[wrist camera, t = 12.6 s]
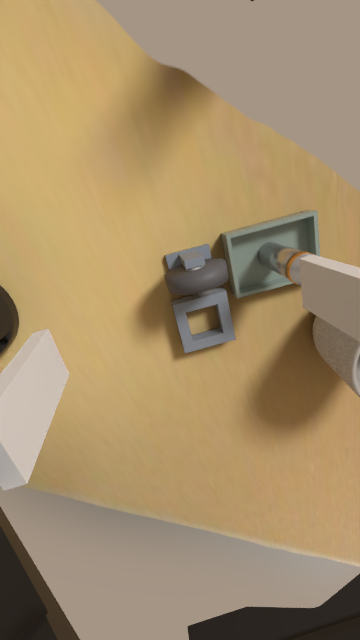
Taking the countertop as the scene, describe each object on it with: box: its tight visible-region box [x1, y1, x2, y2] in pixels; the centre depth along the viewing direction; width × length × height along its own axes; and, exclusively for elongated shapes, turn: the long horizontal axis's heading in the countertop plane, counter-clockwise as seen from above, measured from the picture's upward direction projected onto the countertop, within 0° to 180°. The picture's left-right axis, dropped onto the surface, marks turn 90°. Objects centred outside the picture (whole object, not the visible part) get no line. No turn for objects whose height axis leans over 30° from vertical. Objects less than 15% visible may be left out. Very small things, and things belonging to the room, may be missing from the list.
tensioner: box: [165, 244, 236, 353], centre depth 45 cm, size 9×17×10 cm, turn 14°
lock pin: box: [257, 242, 315, 285], centre depth 42 cm, size 4×4×12 cm
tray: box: [221, 210, 320, 299], centre depth 47 cm, size 14×10×3 cm
